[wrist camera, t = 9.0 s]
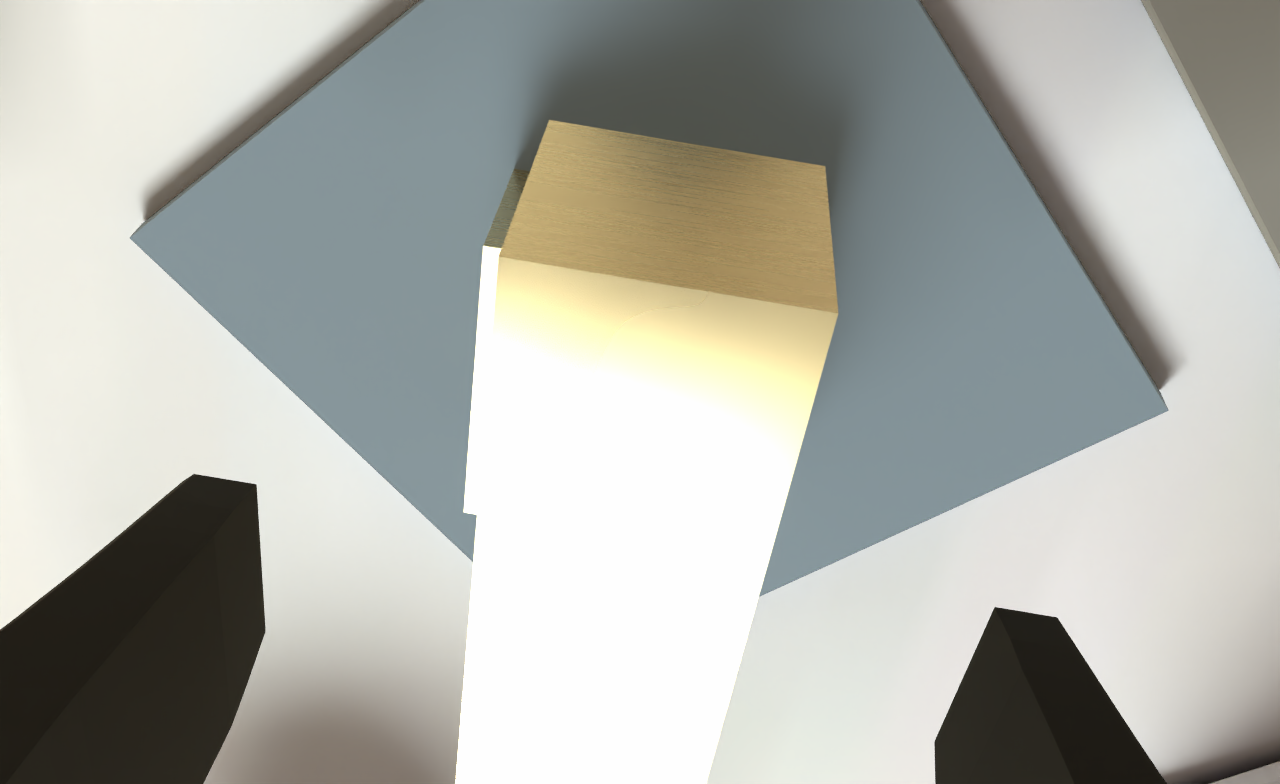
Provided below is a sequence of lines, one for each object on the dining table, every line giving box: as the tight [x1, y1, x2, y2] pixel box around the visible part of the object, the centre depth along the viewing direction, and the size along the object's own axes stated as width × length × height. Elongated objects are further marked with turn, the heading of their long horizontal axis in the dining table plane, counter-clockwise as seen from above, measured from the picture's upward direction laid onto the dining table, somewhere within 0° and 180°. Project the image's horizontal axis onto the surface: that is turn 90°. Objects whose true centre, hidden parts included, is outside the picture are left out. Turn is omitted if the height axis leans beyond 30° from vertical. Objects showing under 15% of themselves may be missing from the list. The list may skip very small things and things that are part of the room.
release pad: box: [130, 0, 1168, 596], centre depth 16 cm, size 10×10×1 cm
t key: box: [455, 120, 838, 784], centre depth 14 cm, size 9×4×6 cm, turn 172°
